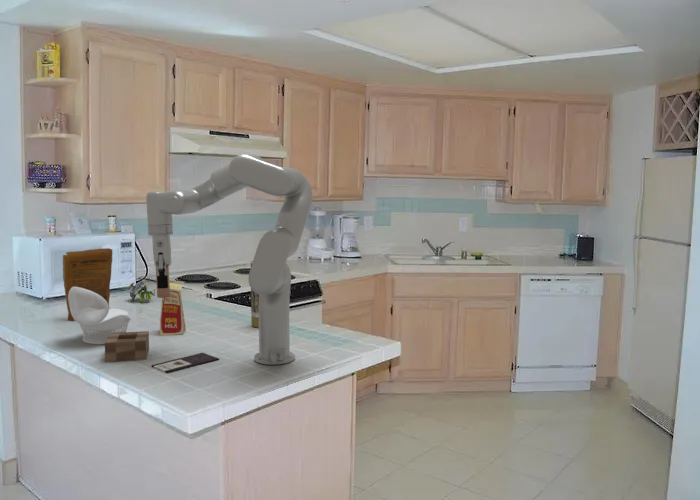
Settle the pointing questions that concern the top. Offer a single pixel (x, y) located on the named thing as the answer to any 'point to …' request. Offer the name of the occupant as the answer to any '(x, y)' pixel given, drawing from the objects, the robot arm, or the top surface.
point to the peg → (163, 291)
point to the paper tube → (254, 308)
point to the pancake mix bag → (88, 273)
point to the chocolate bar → (184, 362)
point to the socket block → (127, 346)
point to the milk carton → (172, 311)
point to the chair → (95, 316)
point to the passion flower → (140, 291)
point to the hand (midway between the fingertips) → (163, 286)
